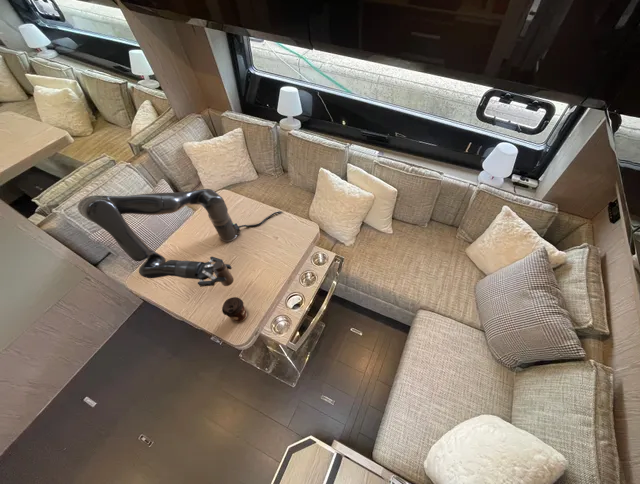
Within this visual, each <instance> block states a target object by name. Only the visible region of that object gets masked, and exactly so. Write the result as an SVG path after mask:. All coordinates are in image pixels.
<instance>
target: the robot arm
mask: <svg viewBox="0 0 640 484" xmlns="http://www.w3.org/2000/svg"><path fill="white" fill-rule="evenodd" d="M195 205H197V206H202V207H203V208H204V209H205V210H206V212H207V217H208V218H209V220H210V222H211V224H212V226H213V227H214V229H215V231H216V233H217V235H218V236H219V238H220V240H221V241H222V242H226V243H230V242H233V241H234V240H236V239H237V238H238V237H239V236H240V234H239V232H241V229H240V228H245V227H246V228H253V227H257V226H261V225H262V224H264V223H265V221H267V220H268V219H269V218H271V217H273V216H274V215H276V214H282V211H275V212H273V213H271V214H269V215H268V216H267V217H266V218H264V219H262V221H260V223H256V224H242V225H238V223H234V222H233V220H232V218H231V216H230V214H229V209H228V206H227V204H226V202H225V199H224V198H223V197H222V195H220V194H219V193H218V192H216V191H215V190H213V189H211V188H202V189H195V190H189V191H188V190H187V191H173V192H154V193H153V192H152V193H142V194H141V193H140V194H132V195H100V194H99V195H98V194H97V195H96V194H95V195H89V196H86V197H84V198H83V199H81V200H80V201H79V202H78V204H77V210H78V213H79V214H80V215H81V216H83V218H85V219H86V220H88V221H90V222H91V223H94V224H96V225H97V226H98V227H100V228H102V229H103V230H104V231H106V232H107V233H108V234H109V235H110V236H111V237H112V238H113V239H114V240H115V242H116V243H117V245H118V246H119V247H120V248H121V249H122V251H124V253H126V254H127V256H128V257H130V259H131V260H132V261H134V262H142V261H144V260H145V261H144V262H143V263H142V264H141V266H140V267H139V268H138V273H139V275H140V276H141V277H143V278H146V279H159V278H165V277H176V278H181V279H189V280H199V281H198V282H197V285H198V286H199V287H200V288H203V287H214V286H215V284H216V283H221V282H225V281H226V280H227V279H226V278H225V277H217V276H216V275H214V274H215V273H214V272H213V264H214V263H215V262H218V261H219V262H222V263H224V264H225V265H226V267H227V268H228V270H232V268H233V267H232V265H230V264H229V263H225V262H224V260H223V259H222V258H218V257H216V256H210V257H209V261H205V262H204V261H197V260H179V259H169V260H168V259H167V260H166V258H165V256H163V255H162V254H160V253H158V252H156V251H155V250H154V249H152V248H150V247H149V246H148V244H147V243H145V241H143V239H142V238H141V237H140V236H139V235H138V234H137V232H135V231H134V230H133V228H131V227H130V225H129V223H127V221H126V220H125V218H124V216H123V215H142V216H144V215H145V216H160V215H169V214H174V213H176V212H179V211H180V210H182V209H184V208H185V207H187V206H195ZM207 279H209V280H207Z"/></svg>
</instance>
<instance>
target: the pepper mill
mask: <svg viewBox="0 0 640 484" xmlns="http://www.w3.org/2000/svg"><path fill="white" fill-rule="evenodd" d="M212 264H213V272H214V273H213V274H214V276H215V277H216V278H217V277H225V278H226V279H227V280H226V281H225V282H220V283H221V285H222V286H224V287H229V286H231V285H232V284H233V283H234V281H235V280H234V276H233V275H232V273H231V272H230V269H228V268H227V267H226V265H225V264H226V263H225V262H224V263H222V262H219V261H218V262H215V263H212Z"/></svg>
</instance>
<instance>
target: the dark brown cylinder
mask: <svg viewBox="0 0 640 484" xmlns="http://www.w3.org/2000/svg"><path fill="white" fill-rule="evenodd" d="M221 309H222V311H221V312H222V314H223V315H224V316H227V317H228V318H229V319H231V320H232V321H233V322H237V323H241V322H243V321H244V320H245V319H246V318H247V316H248V312H247V310H246V307H245V306H244V301H243V299H241V298H240V297H237V296H232V297H230V298H227V299H226V300H225V301H224V303H223V304H222V308H221Z"/></svg>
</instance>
